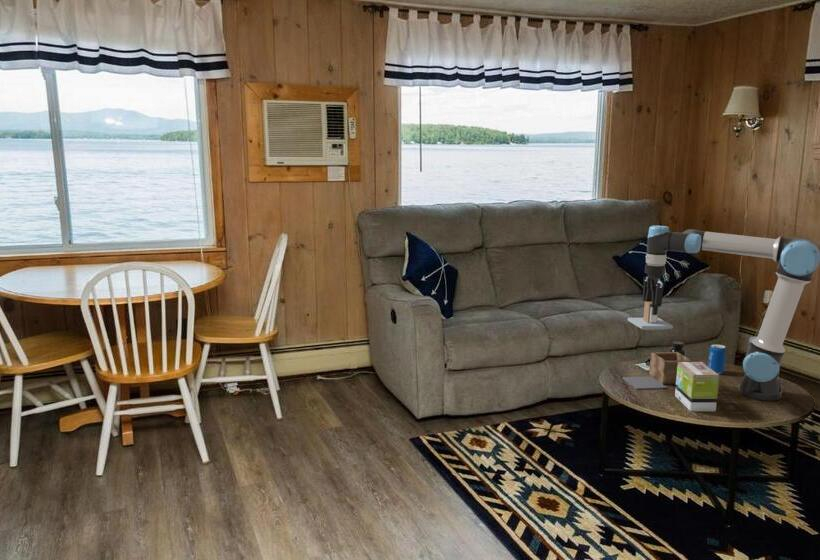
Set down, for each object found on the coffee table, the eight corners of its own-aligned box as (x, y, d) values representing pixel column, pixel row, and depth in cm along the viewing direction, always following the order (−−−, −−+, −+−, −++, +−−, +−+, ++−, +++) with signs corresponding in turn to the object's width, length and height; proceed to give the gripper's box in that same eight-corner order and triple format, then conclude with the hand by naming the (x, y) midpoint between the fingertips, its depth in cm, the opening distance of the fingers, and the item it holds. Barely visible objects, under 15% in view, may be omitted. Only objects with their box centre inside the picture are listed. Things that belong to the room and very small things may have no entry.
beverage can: (704, 370, 285) (706, 344, 282) (716, 369, 286) (719, 343, 284) (714, 375, 279) (716, 348, 276) (726, 374, 280) (729, 347, 278)
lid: (672, 331, 258) (675, 306, 256) (641, 331, 256) (643, 306, 254) (657, 322, 270) (659, 298, 268) (627, 322, 269) (629, 299, 267)
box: (690, 383, 268) (692, 360, 266) (662, 384, 266) (664, 361, 265) (675, 374, 279) (677, 352, 278) (649, 374, 278) (650, 352, 276)
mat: (666, 388, 262) (667, 387, 262) (636, 389, 261) (636, 388, 261) (651, 377, 275) (651, 376, 275) (622, 378, 273) (622, 377, 273)
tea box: (673, 396, 254) (677, 360, 251) (699, 397, 254) (702, 361, 251) (689, 411, 239) (693, 373, 236) (716, 412, 239) (720, 374, 236)
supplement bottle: (681, 366, 290) (684, 340, 287) (686, 371, 283) (688, 345, 281) (665, 365, 290) (668, 340, 288) (670, 370, 284) (672, 344, 281)
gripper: (637, 260, 266) (632, 315, 271) (656, 268, 250) (650, 326, 254) (654, 260, 267) (649, 315, 272) (674, 268, 250) (669, 326, 255)
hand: (650, 320), depth 263 cm, fingers closed on lid, 4 cm apart
